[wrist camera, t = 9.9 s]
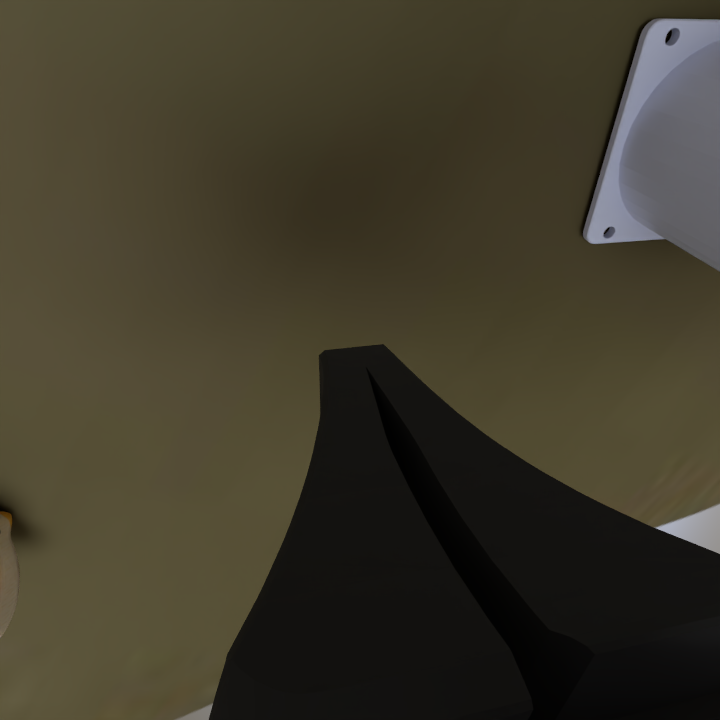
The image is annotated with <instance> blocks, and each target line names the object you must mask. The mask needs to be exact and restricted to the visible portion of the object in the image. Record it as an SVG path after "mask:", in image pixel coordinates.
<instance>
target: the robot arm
mask: <svg viewBox="0 0 720 720" xmlns="http://www.w3.org/2000/svg"><path fill="white" fill-rule="evenodd" d="M670 30H672V36H671V38H670V40H669V41H668V42H667V43H666V42H665V38H666V35H667V33H668V32H669V31H670ZM608 227H610V228H609V230H608V232H607V233H605V234H604V231H605V230H606V229H607V228H608ZM583 237H584V239H585V240H587V241H588V242H589V243H591V244H602V243H616V242H629V241H643V240H657V239H666V240H668V241H670V242H671V243H673V244H675V245H676V246H678V247H680V248H681V249H683V250H685V251H686V252H688V253H690V254H691V255H693V256H695V257H696V258H698V259H700V260H701V261H703V262H705V263H706V264H708V265H710V266H711V267H713V268H715V269H716V270H718V271H719V272H720V19H664V18H658V19H654V20H652V21H650V22H649V23H648V24H647V25H646V26H645V27H644V29H643V30H642V33H641V35H640V38H639V42H638V45H637V48H636V52H635V55H634V59H633V62H632V66H631V69H630V72H629V76H628V79H627V83H626V86H625V90H624V93H623V96H622V100H621V103H620V107H619V110H618V114H617V117H616V120H615V124H614V127H613V131H612V134H611V138H610V141H609V144H608V148H607V151H606V155H605V158H604V162H603V165H602V168H601V172H600V175H599V179H598V182H597V186H596V189H595V192H594V196H593V199H592V203H591V206H590V210H589V213H588V216H587V220H586V223H585V227H584V230H583ZM319 371H320V412H321V414H320V421H319V426H318V431H317V436H316V441H315V445H314V450H313V454H312V458H311V462H310V466H309V469H308V473H307V476H306V480H305V483H304V486H303V489H302V492H301V495H300V498H299V501H298V504H297V507H296V509H295V512H294V515H293V518H292V521H291V523H290V526H289V528H288V531H287V533H286V536H285V538H284V541H283V543H282V545H281V548H280V550H279V552H278V554H277V557H276V559H275V561H274V563H273V565H272V568H271V570H270V572H269V574H268V577H267V579H266V581H265V583H264V585H263V587H262V590H261V592H260V594H259V596H258V598H257V600H256V602H255V603H254V605H253V607H252V609H251V611H250V613H249V615H248V617H247V618H246V620H245V622H244V624H243V626H242V628H241V630H240V632H239V633H238V635H237V637H236V639H235V641H234V643H233V645H232V647H231V648H230V650H229V652H228V654H227V657H226V662H225V665H224V669H223V672H222V675H221V678H220V682H219V685H218V688H217V692H216V695H215V699H214V702H213V706H212V710H211V713H210V717H209V720H720V554H718V553H716V552H713V551H711V550H708V549H706V548H703V547H701V546H698V545H696V544H693V543H691V542H688V541H686V540H683V539H681V538H678V537H676V536H673V535H671V534H668V533H666V532H663V531H661V530H658V529H656V528H653V527H651V526H649V525H646V524H644V523H642V522H640V521H638V520H636V519H633V518H631V517H629V516H627V515H625V514H623V513H620V512H618V511H616V510H614V509H612V508H610V507H608V506H605V505H603V504H601V503H600V502H598V501H596V500H594V499H592V498H590V497H588V496H586V495H584V494H582V493H580V492H578V491H576V490H574V489H572V488H571V487H569V486H567V485H565V484H563V483H562V482H560V481H558V480H556V479H554V478H553V477H551V476H549V475H547V474H545V473H544V472H542V471H540V470H539V469H537V468H535V467H534V466H532V465H530V464H529V463H527V462H526V461H524V460H523V459H521V458H520V457H518V456H517V455H515V454H513V453H512V452H510V451H509V450H507V449H506V448H504V447H503V446H501V445H500V444H498V443H497V442H495V441H494V440H493V439H491V438H490V437H488V436H487V435H486V434H484V433H483V432H482V431H480V430H479V429H478V428H476V427H475V426H474V425H473V424H471V423H470V422H469V421H467V420H466V419H465V418H463V417H462V416H461V415H460V414H459V413H457V412H456V411H455V410H454V409H452V408H451V407H450V406H449V405H448V404H447V403H446V402H444V401H443V400H442V399H441V398H440V397H439V396H438V395H436V394H435V393H434V392H433V391H432V390H431V389H430V388H429V387H428V386H426V385H425V384H424V383H423V382H422V381H421V380H420V379H419V378H418V377H417V376H416V375H415V374H414V373H413V372H412V371H411V370H409V369H408V368H407V367H406V366H405V365H404V364H403V363H402V362H401V361H400V360H399V359H398V358H397V357H396V356H395V355H394V354H393V353H392V352H391V351H390V350H389V349H388V348H387V347H386V346H384V345H383V344H381V345H372V346H362V347H352V348H343V349H333V350H324V351H323V352H322V353H321V354H320V355H319Z"/></svg>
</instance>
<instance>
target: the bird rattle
mask: <svg viewBox="0 0 720 720" xmlns="http://www.w3.org/2000/svg"><path fill="white" fill-rule="evenodd" d="M11 527H12V515H11V514H10V513H8V512H4V511H0V638H1V637H2V635H3V633H4V632H5V630H6V629H7V627H8V625H9V623H10V621H11V619H12V617H13V614H14V611H15V608H16V604H17V600H18V594H19V583H20V572H19V562H18V557H17V553H16V550H15V547H14V545H13V542H12V540H11Z"/></svg>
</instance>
